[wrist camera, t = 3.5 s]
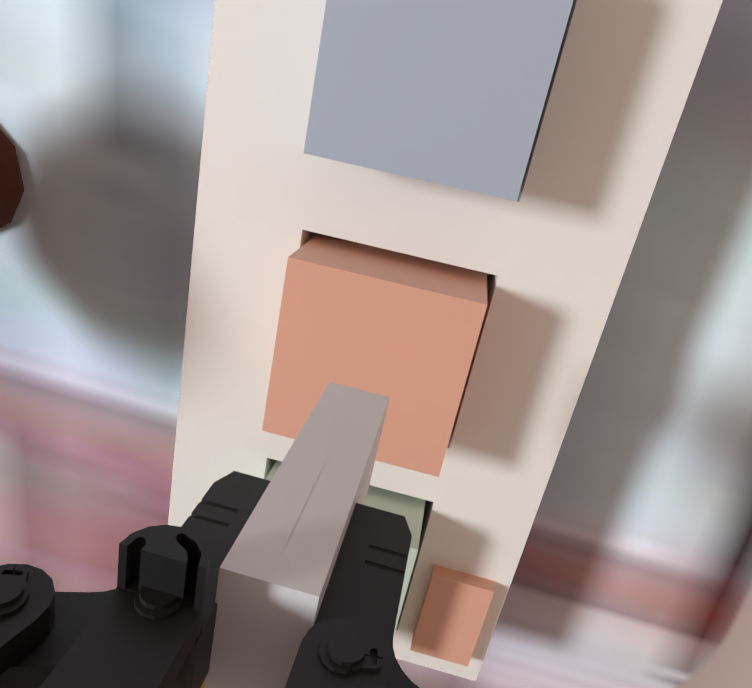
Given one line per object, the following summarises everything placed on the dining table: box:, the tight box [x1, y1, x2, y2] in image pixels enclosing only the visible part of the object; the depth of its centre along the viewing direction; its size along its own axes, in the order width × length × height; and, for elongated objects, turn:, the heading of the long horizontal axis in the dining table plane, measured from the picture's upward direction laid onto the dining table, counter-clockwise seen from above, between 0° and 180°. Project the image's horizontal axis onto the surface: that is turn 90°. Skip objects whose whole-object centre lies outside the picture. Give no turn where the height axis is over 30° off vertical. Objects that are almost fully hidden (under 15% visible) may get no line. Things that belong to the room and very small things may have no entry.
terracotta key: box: [262, 234, 487, 477], centre depth 21 cm, size 6×6×4 cm
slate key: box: [304, 0, 574, 202], centre depth 18 cm, size 6×6×4 cm
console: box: [168, 0, 723, 681], centre depth 23 cm, size 28×14×5 cm, turn 169°
